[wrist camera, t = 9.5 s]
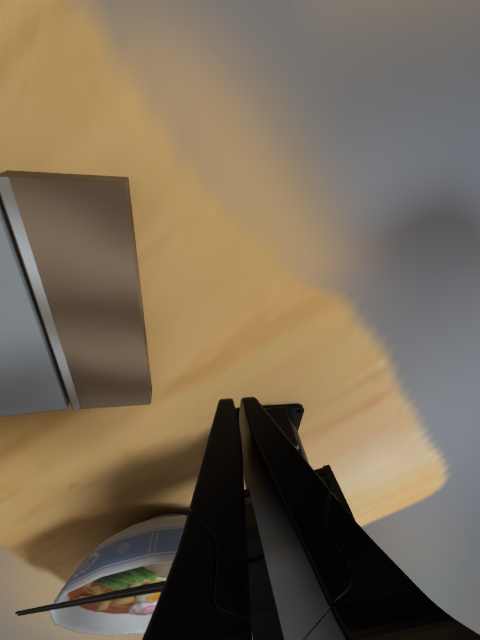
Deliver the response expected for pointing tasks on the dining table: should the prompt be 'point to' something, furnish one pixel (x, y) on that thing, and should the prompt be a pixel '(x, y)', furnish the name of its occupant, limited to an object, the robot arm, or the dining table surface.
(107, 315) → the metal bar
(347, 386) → the dining table surface
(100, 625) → the ramen bowl
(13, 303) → the grey tile
